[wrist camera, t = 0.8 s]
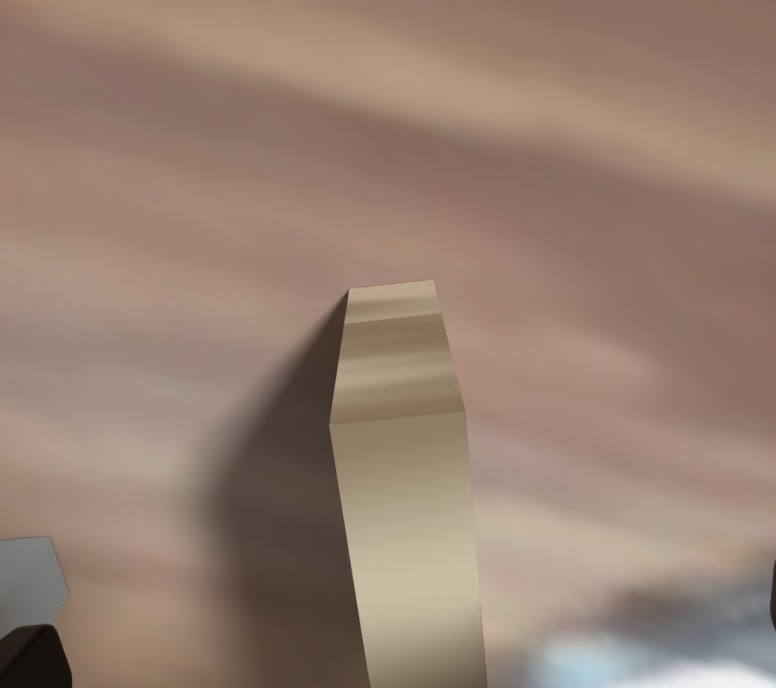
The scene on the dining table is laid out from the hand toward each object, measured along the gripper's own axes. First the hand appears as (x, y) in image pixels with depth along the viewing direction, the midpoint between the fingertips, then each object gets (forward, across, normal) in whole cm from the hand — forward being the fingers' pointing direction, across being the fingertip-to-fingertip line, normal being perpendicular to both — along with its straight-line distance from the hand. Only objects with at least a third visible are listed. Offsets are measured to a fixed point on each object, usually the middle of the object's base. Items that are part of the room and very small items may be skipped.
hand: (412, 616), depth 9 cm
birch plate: (+9, 0, +4) cm, 10 cm away
